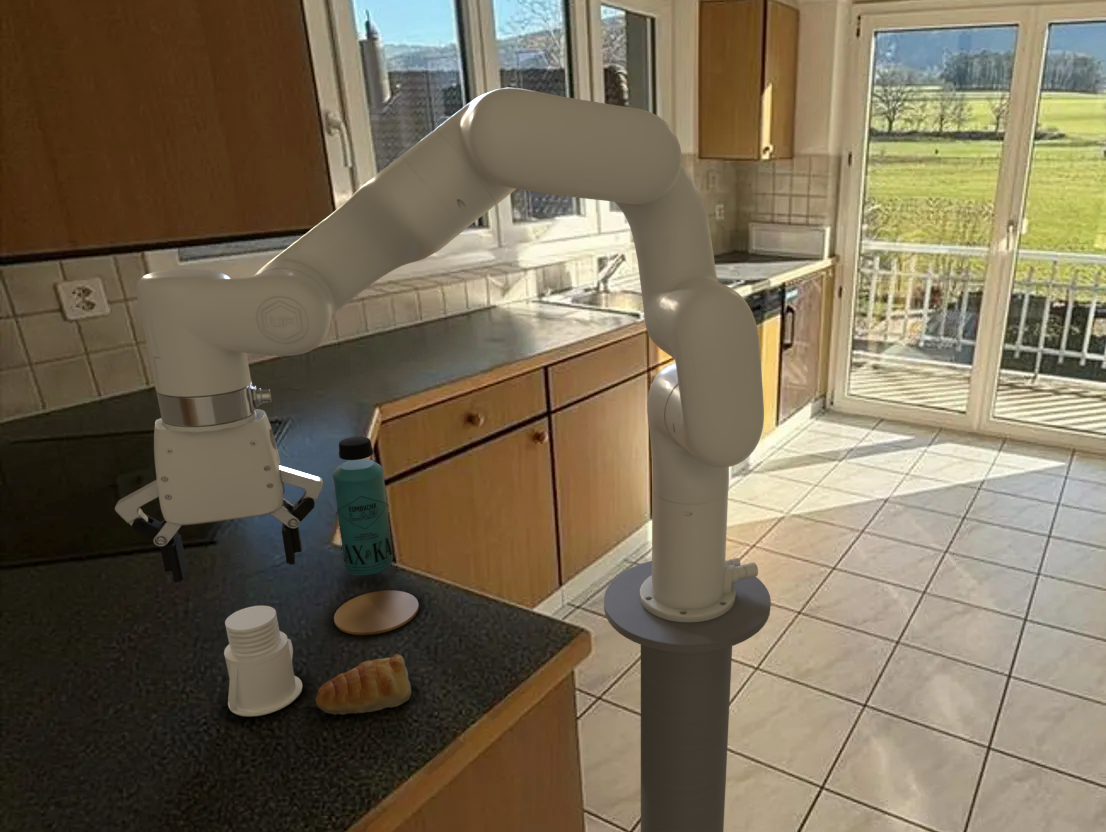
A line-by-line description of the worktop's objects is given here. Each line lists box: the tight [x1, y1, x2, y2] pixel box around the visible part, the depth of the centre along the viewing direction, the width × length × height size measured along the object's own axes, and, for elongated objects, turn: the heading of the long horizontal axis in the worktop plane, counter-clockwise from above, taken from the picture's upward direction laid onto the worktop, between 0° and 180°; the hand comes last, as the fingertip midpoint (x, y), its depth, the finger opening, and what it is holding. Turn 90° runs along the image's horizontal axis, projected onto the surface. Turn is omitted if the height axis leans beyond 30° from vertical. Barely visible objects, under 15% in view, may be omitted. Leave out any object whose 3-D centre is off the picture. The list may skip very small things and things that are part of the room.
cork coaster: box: [333, 589, 420, 636], centre depth 101 cm, size 10×10×1 cm
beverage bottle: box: [332, 436, 395, 576], centre depth 107 cm, size 6×7×20 cm
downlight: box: [223, 605, 303, 717], centre depth 83 cm, size 8×7×10 cm
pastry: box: [315, 653, 412, 716], centre depth 85 cm, size 9×7×4 cm
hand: (237, 566), depth 79 cm, fingers open, 9 cm apart
